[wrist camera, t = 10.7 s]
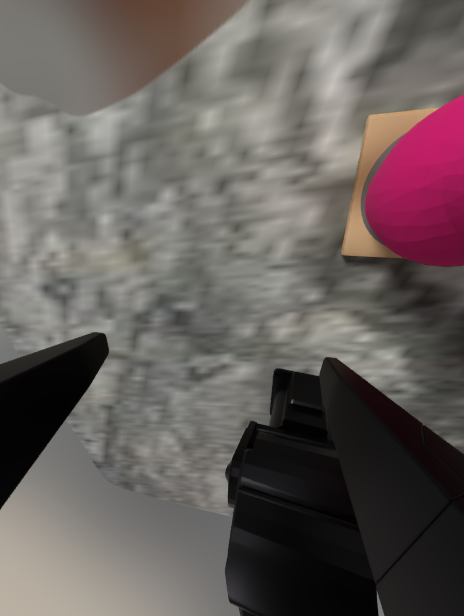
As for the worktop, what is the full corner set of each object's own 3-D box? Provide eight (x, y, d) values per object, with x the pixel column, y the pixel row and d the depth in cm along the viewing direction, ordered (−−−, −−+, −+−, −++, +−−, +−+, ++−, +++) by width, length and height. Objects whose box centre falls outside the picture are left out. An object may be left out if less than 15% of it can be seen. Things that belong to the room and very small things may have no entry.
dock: (476, 260, 15) (484, 262, 15) (341, 253, 18) (342, 255, 17) (543, 102, 12) (558, 95, 11) (366, 119, 14) (369, 115, 14)
